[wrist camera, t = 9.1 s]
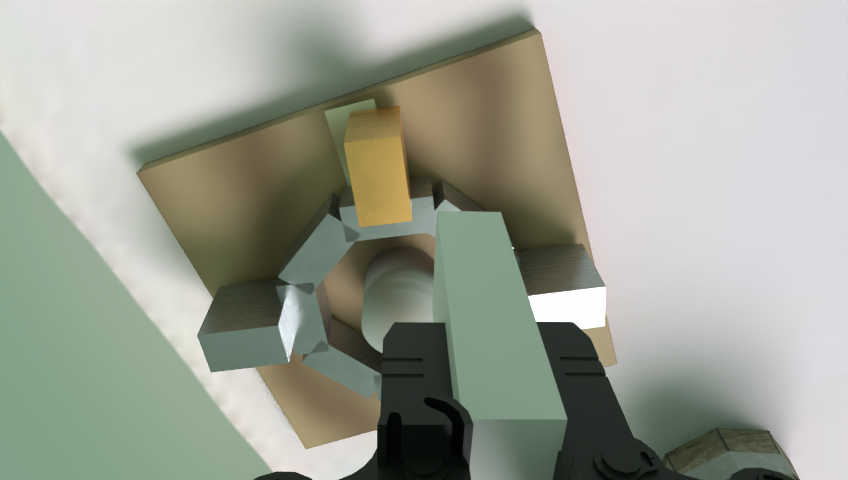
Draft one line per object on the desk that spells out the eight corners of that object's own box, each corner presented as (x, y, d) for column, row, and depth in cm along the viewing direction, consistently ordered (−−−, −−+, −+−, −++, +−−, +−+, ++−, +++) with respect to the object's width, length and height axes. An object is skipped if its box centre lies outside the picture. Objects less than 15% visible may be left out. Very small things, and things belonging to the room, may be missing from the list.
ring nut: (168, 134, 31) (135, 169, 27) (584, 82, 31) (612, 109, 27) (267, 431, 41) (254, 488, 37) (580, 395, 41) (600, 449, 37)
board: (536, 28, 31) (563, 53, 26) (611, 351, 41) (641, 413, 36) (144, 164, 34) (100, 211, 29) (308, 436, 44) (297, 504, 39)
